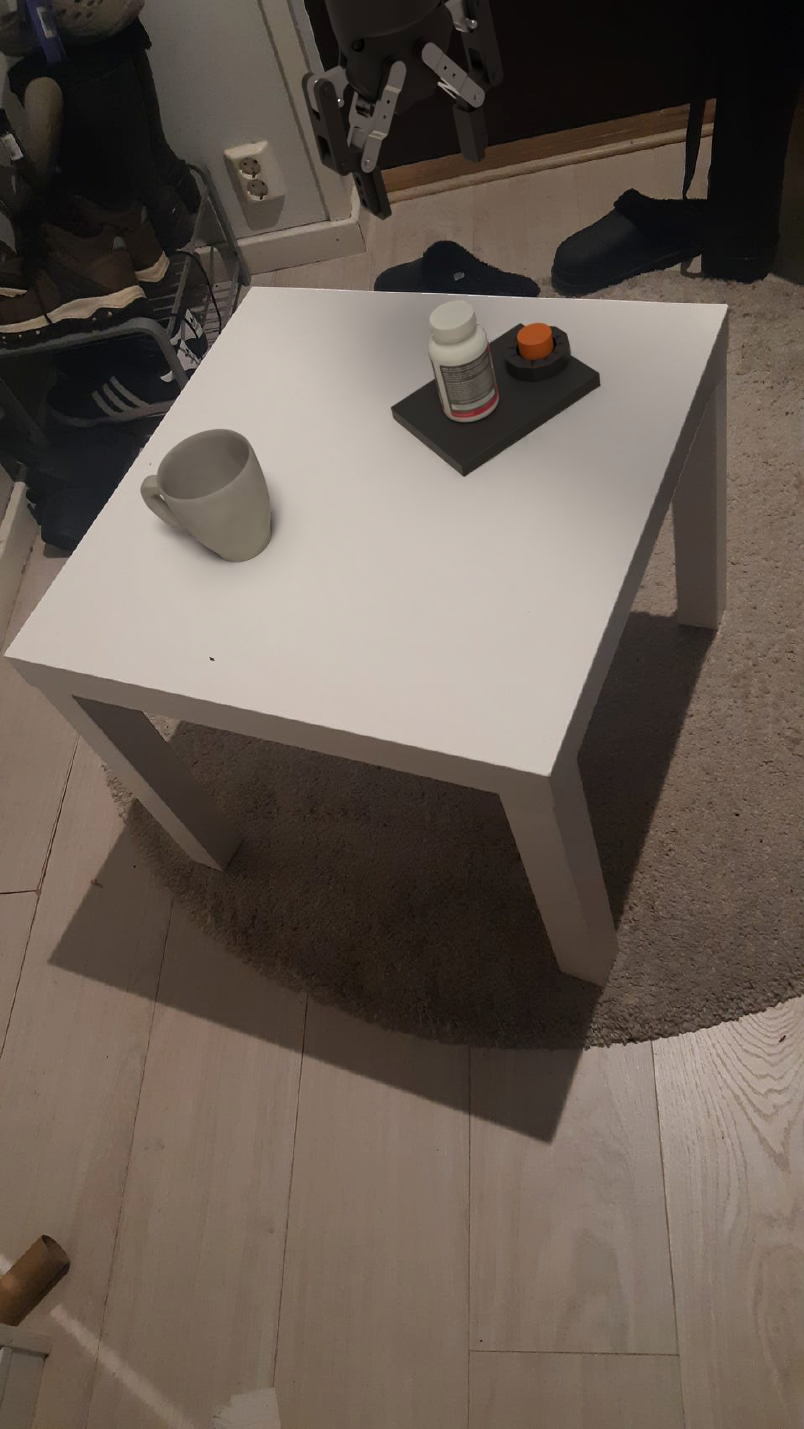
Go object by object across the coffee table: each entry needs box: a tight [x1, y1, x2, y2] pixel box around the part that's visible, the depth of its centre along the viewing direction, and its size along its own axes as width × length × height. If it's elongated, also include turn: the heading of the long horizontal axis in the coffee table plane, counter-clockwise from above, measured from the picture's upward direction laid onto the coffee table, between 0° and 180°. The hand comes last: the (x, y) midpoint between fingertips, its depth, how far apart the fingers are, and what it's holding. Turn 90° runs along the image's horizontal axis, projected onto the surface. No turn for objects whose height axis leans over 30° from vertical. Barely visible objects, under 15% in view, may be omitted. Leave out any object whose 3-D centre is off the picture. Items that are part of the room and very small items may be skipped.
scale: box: [390, 322, 601, 477], centre depth 93 cm, size 17×12×3 cm
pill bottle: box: [427, 300, 499, 422], centre depth 89 cm, size 5×5×10 cm
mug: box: [139, 428, 272, 563], centre depth 88 cm, size 12×9×10 cm
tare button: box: [517, 322, 553, 360], centre depth 92 cm, size 3×3×2 cm
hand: (428, 186), depth 73 cm, fingers open, 8 cm apart
